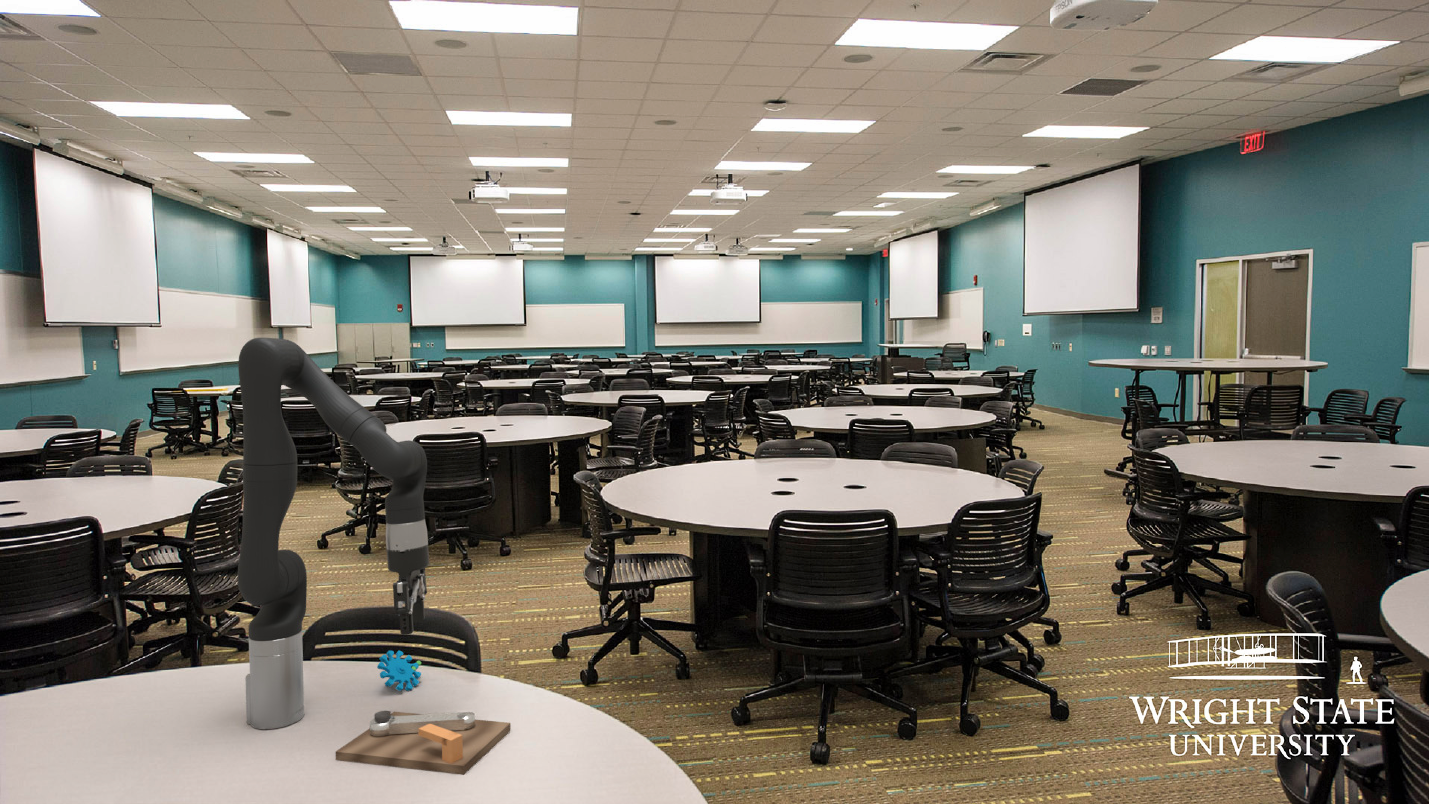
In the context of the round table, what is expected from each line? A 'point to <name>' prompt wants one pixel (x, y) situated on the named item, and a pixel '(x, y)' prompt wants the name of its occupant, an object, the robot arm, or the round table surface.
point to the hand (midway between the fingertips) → (413, 627)
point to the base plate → (422, 747)
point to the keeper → (444, 741)
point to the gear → (399, 670)
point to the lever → (422, 723)
